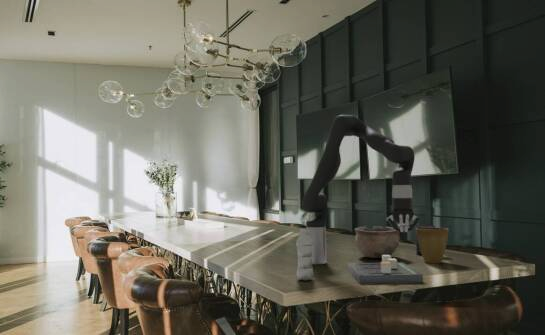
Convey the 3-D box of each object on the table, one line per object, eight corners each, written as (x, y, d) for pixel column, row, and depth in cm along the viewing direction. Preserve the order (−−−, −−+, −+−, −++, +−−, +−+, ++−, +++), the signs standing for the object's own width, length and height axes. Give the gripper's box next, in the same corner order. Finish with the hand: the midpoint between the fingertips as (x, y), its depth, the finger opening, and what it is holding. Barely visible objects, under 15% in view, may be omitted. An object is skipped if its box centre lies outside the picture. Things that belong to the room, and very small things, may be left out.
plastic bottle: (315, 281, 185) (314, 229, 185) (297, 282, 184) (297, 230, 185) (312, 278, 191) (311, 228, 192) (295, 278, 191) (294, 228, 191)
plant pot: (452, 265, 218) (451, 229, 218) (418, 264, 221) (417, 229, 221) (446, 260, 232) (446, 226, 233) (415, 259, 235) (414, 226, 236)
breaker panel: (359, 283, 181) (359, 275, 181) (347, 270, 209) (347, 262, 209) (422, 282, 181) (422, 274, 181) (402, 269, 209) (402, 262, 209)
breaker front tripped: (383, 273, 183) (382, 263, 183) (380, 271, 187) (380, 261, 187) (391, 273, 183) (390, 263, 183) (388, 271, 187) (388, 261, 187)
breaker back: (384, 264, 203) (384, 256, 203) (382, 262, 207) (381, 254, 207) (391, 264, 203) (391, 256, 203) (388, 262, 207) (388, 254, 207)
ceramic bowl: (396, 254, 251) (395, 225, 252) (403, 261, 230) (402, 230, 230) (353, 254, 254) (353, 226, 254) (356, 261, 232) (356, 230, 232)
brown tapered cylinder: (415, 253, 256) (415, 225, 256) (435, 253, 253) (434, 225, 254) (416, 255, 246) (415, 226, 247) (436, 256, 243) (435, 227, 244)
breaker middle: (389, 268, 193) (389, 260, 193) (387, 266, 197) (387, 258, 197) (397, 268, 193) (397, 260, 193) (394, 266, 197) (394, 258, 197)
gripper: (387, 197, 182) (388, 243, 181) (422, 196, 182) (423, 242, 181) (383, 196, 190) (384, 240, 189) (416, 196, 190) (417, 240, 189)
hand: (403, 241), depth 185 cm, fingers closed
